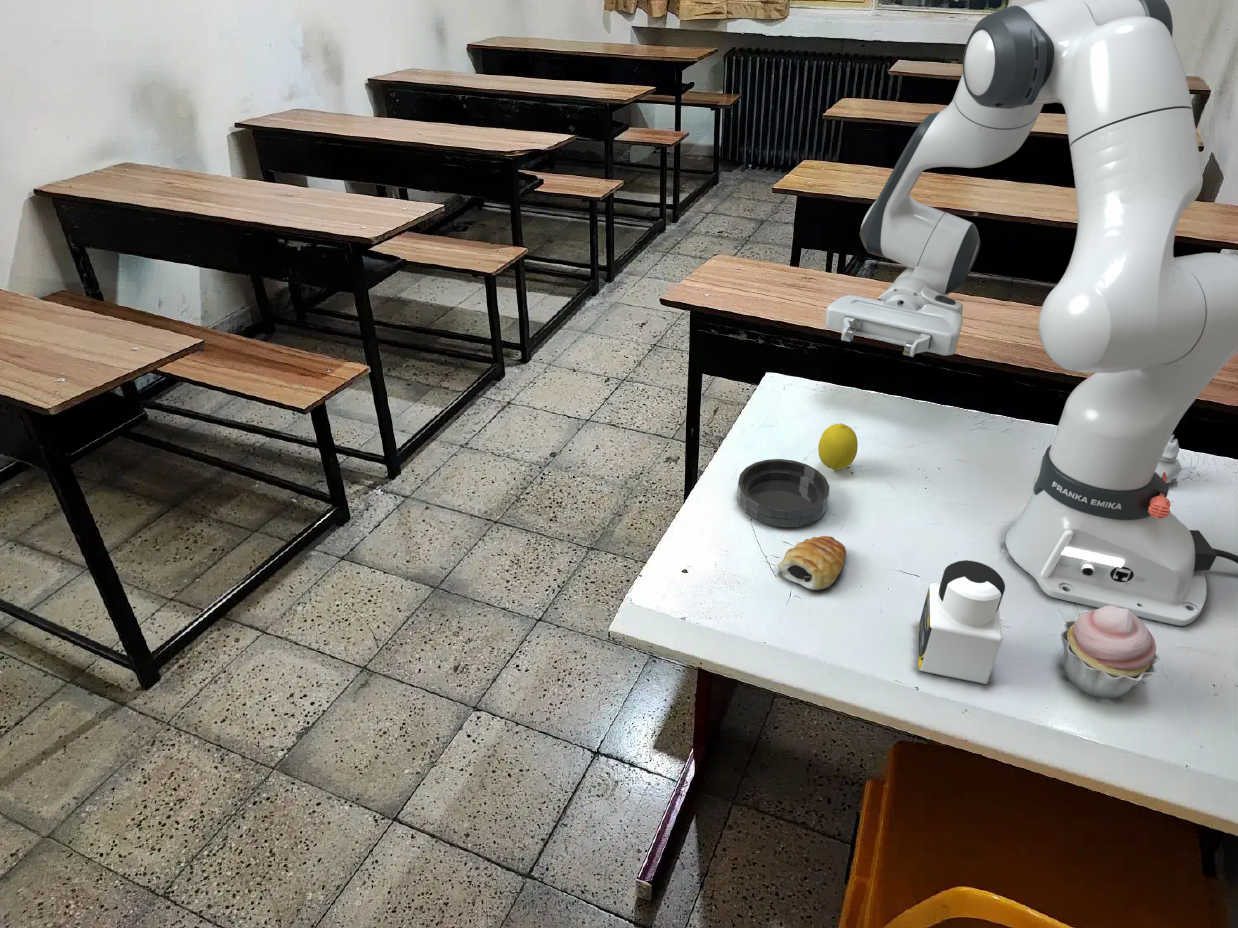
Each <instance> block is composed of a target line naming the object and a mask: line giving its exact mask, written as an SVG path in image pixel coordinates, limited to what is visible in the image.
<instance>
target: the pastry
mask: <svg viewBox="0 0 1238 928" xmlns="http://www.w3.org/2000/svg"><path fill="white" fill-rule="evenodd" d="M846 555H847V550H846V547H845V545H844V544H843V543H842V542H840V541H839V540H837V539H835V537H834V536H830V535H829V536H828V535H822V536H813V537H811V538H810V539H809V538H805V539H804V540H803V541H801V542H798V543H796V544H795V546H794V547H791V548H789V549H788V550H787V551H786V552H785V555H784V557H783V559H782V561H781V562H779V563H778V566H777V567H778V571H779V572H780V573H781V576H782V577H783V578H784V579H786V580H788V581H790V582H792V583H794V584H797V585H801V586H803V587H804V588H806V589H808V590H811V591H815V590H819V591H820V590H823V589H827V588H829V587H831V585H832V584H833V583H835V581H836V579H837V577H838V576H839V575H840V574H841V571H842V568H843V566H844V564H845V561H846Z"/></svg>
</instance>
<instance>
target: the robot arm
mask: <svg viewBox="0 0 1238 928" xmlns="http://www.w3.org/2000/svg"><path fill="white" fill-rule="evenodd" d="M1173 31H1174V24H1173V16H1172V12H1171V9H1170V7H1169V5H1168V3H1167V1H1166V0H1038V1H1035V2H1030V3H1028V4H1024V5H1021V6H1019V5H1010V6H1006V7H1003V8H1002V9H999V10H996V11H994V12H991V13H990V14H988V15H986V16H984V17H982V18H981V19H980V20H979V21H978V22H977V23H976V24H975V26H974V28H973V29H972V31H971V33H970V34H969V36H968V39H967V41H966V43H965V47H964V51H963V58H962V75H961V77H960V79H959V82H958V84H957V88H956V91H955V93H954V95H953V98H952V100H951V102H950V103H949V104H948V106H946V107H945V108H944V109H942V110H941V111H936V112H932V113H929V114H928V115H927V116H926V117H925V118H924V119H923V120H922V121H921V122H920V124H919V125H918V126H917V128H916V129H915V131H914V132H913V134H912V135H911V137H910V139H909V141H908V142H907V144H906V146H905V147H904V149H903V150H902V153H901V155H900V156H899V157H898V160H897V162H896V163H895V165H894V167H893V169H892V171H891V173H890V175H889V176H888V179H887V181H886V182H885V184H884V186H883V188H882V190H881V191H880V194H879V195H878V197H877V198H876V200H875V201H874V202H873V203H872V205H870V207H869V209H868V210H867V212H866V214H865V216H864V218H863V220H862V223H861V226H860V232H859V237H860V239H861V243H862V244H863V247H864V249H865V251H866V252H867V253H868V254H871V255H873V256H878V257H881V258H883V259H888V260H891V261H894V262H896V263H898V264H900V265H903V266H905V267H907V268H906V269H905V270H903V271H902V272H901V273H900V274H899V275H898V276H897V277H896V278H895V279H894V281H893V282H892V283H891V284H890V285H889V286H888V287H887V288H886V289H885V290H884V291H883V293H882V294H880V295H879V296H878V298H877V299H875V298H870V297H865V296H859V295H854V294H846V295H842V296H840V297H839V298H837V299H835V300H834V301H833V302H831V303H830V304H828V306H827V307H826V311H825V315H824V316H825V317H824V325H825V326H826V328H827V329H829V330H833V331H837V332H841V336H840V340H841V341H843V342H848V343H851V342H852V341H853V340H854V339H855V336H858V337H863V338H868V339H872V340H877V341H880V342H883V343H889V344H893V345H897V346H901V347H903V352H902V355H904V356H908V357H911V358H914V356H915V355H916V354H920V353H925V352H927V353H932V354H936V355H940V356H952V355H954V354H955V353H956V351H957V347H958V343H959V340H960V336H961V332H962V331H961V330H962V327H963V321H964V320H963V319H964V318H963V309H964V304H963V303H962V302H961V301H958V300H955V299H952V298H950V297H949V295H950V294H951V293H953V292H954V291H957V290H958V289H959V288H960V287H961V286H962V285H963V283H964V281H965V280H966V279H967V277H968V276H969V273H970V272H971V270H972V269H973V267H974V264H975V262H976V260H977V257H978V255H979V252H980V248H981V239H980V235H979V234H980V233H979V231H978V228H977V226H976V225H975V223H974V222H972V221H969V220H966V219H964V218H961V217H960V216H956V215H954V214H952V213H949V212H945V211H942V210H941V209H938V208H935V207H932V206H929V205H927V204H925V203H921V202H920V201H917V200H916V199H914V198H913V197H912V196H911V192H912V190H913V188H914V186H915V185H916V183H917V181H918V180H919V178H920V176H921V175H922V173H923V172H924V171H926V170H930V169H933V168H948V167H949V168H950V167H951V168H968V169H975V168H976V169H977V168H984V167H988V166H991V165H995V164H997V163H1000V162H1002V161H1005V160H1006V159H1008V158H1010V157H1011V156H1012V155H1014V154H1015V153H1016V152H1017V151H1018V150H1020V148H1021V147H1022V146H1023V144H1024V143H1025V141H1026V140H1027V138H1028V137H1029V135H1030V133H1031V131H1032V129H1033V128H1034V126H1035V124H1036V122H1037V120H1038V117H1039V116H1040V113H1041V111H1042V109H1043V106H1044V105H1046V104H1047V105H1048V104H1054V103H1057V104H1061V105H1062V106H1063V109H1064V111H1065V117H1066V118H1065V119H1066V126H1067V136H1068V144H1069V151H1070V156H1071V157H1070V158H1071V164H1072V170H1073V176H1074V177H1073V179H1074V187H1075V195H1076V202H1077V203H1076V204H1077V205H1076V206H1077V227H1076V236H1075V240H1074V245H1073V250H1072V252H1071V253H1072V254H1071V256H1070V259H1069V263H1068V265H1067V267H1066V270H1065V272H1064V274H1063V275H1062V277H1061V279H1060V280H1059V281H1058V283H1057V284H1056V285H1055V286H1054V287H1053V289H1052V290H1051V291H1050V292H1049V293H1048V295H1047V296H1046V298H1045V299H1044V302H1043V303H1042V306H1041V309H1040V312H1039V315H1038V316H1039V318H1038V335H1039V339H1040V342H1041V345H1042V348H1043V349H1044V352H1045V353H1046V354H1047V356H1048V357H1049V359H1050V360H1052V362H1053V363H1054V364H1055V365H1057V366H1058V367H1060V368H1062V369H1064V370H1066V371H1070V372H1079V373H1089V374H1090V373H1092V374H1091V375H1090V376H1089V377H1087V378H1085V379H1084V380H1083V381H1081V382H1080V383H1079V384H1078V385H1077V386H1076V387H1075V388H1074V389H1073V390H1072V391H1071V392H1070V394H1069V395H1068V397H1067V399H1066V401H1065V403H1064V407H1063V410H1062V413H1061V416H1060V418H1059V422H1058V425H1057V427H1056V430H1055V433H1054V436H1053V439H1052V442H1051V444H1049V445H1048V446H1047V448H1046V450H1045V452H1044V454H1043V455H1042V457H1041V459H1040V462H1039V465H1038V468H1037V471H1036V474H1035V477H1034V481H1033V492H1032V494H1031V496H1030V498H1029V500H1028V502H1027V503H1026V506H1025V507H1024V508H1023V511H1022V512H1021V514H1020V515H1019V517H1018V518H1017V520H1016V521H1015V522H1014V524H1012V526H1011V527H1010V528H1009V529H1008V531H1007V533H1006V535H1005V547H1006V549H1007V552H1008V553H1009V555H1010V557H1011V558H1012V559H1013V561H1014V562H1015V563H1016V564H1017V565H1018V566H1019V567H1021V569H1023V570H1024V571H1025V572H1027V573H1028V574H1029V575H1030V576H1031V577H1032V578H1034V579H1035V581H1036V582H1037V584H1038V586H1039V587H1040V589H1041V590H1042V591H1043V593H1044V594H1045V595H1047V596H1049V597H1051V598H1054V599H1058V600H1062V601H1066V602H1071V603H1075V604H1079V605H1085V606H1089V607H1093V608H1097V609H1099V608H1102V607H1104V606H1109V605H1113V606H1117V607H1119V608H1122V609H1129V611H1130V612H1131V613H1132V614H1134V615H1135V616H1137V617H1138V618H1143V619H1147V620H1151V621H1156V622H1160V623H1165V624H1169V625H1174V626H1180V627H1183V626H1187V625H1189V624H1192V623H1193V622H1194V621H1195V620H1197V618H1199V616H1200V615H1201V613H1202V610H1203V608H1204V606H1205V603H1206V598H1207V589H1208V588H1207V587H1208V586H1207V580H1206V575H1205V573H1204V571H1207V572H1209V571H1210V570H1211V568H1212V566H1213V565H1214V562H1215V560H1216V558H1217V557H1220V558H1222V559H1227V560H1228V561H1232V562H1233V563H1236V564H1237V565H1238V555H1237V554H1235V553H1232V552H1230V551H1227V550H1226V551H1225V550H1222V549H1217V548H1213V547H1212V546H1211V544H1210V543H1209V541H1208V540H1207V539H1206V537H1205V536H1204V535H1203V534H1202V532H1201V531H1200V530H1198V529H1189V528H1188V527H1187V526H1186V525H1185V523H1183V522H1182V521H1181V520H1180V519H1179V518H1178V517H1177V516H1176V515H1175V514H1174V513H1173V512H1172V511H1171V508H1170V507H1171V501H1170V499H1168V495H1169V491H1170V489H1169V488H1170V487H1169V486H1170V485H1168V483H1166V482H1167V477H1166V473H1165V472H1164V473H1163V476H1162V478H1161V477H1160V476H1159V475H1158V474H1157V473H1156V472H1155V470H1156V468H1157V466H1158V464H1159V461H1160V459H1161V457H1162V455H1163V453H1164V451H1165V448H1166V446H1167V444H1168V442H1169V440H1170V438H1171V436H1172V435H1174V434H1173V433H1174V431H1175V430H1176V428H1177V427H1178V425H1179V423H1180V421H1181V419H1182V418H1183V417H1184V416H1185V414H1186V412H1187V411H1188V410H1189V408H1190V407H1191V406H1192V404H1193V403H1195V401H1196V399H1197V398H1198V397H1199V396H1200V395H1201V393H1202V392H1203V391H1204V390H1205V389H1206V387H1207V386H1208V385H1209V384H1210V382H1211V381H1212V380H1213V379H1214V378H1215V377H1216V375H1218V373H1219V372H1220V371H1221V370H1222V369H1223V368H1224V366H1225V365H1226V364H1227V363H1228V362H1229V361H1230V360H1231V359H1233V357H1234V356H1235V355H1236V354H1237V353H1238V254H1231V253H1222V252H1221V253H1218V252H1202V253H1195V254H1188V255H1183V256H1176V257H1175V256H1174V245H1175V237H1176V231H1177V227H1178V224H1179V222H1180V219H1181V216H1182V215H1183V213H1184V211H1186V210H1187V209H1188V208H1189V207H1190V206H1191V205H1192V204H1193V203H1194V202H1195V201H1196V200H1197V198H1198V197H1199V195H1200V193H1201V191H1202V188H1203V183H1204V177H1203V170H1202V163H1201V157H1200V149H1199V143H1198V136H1197V129H1196V123H1195V117H1194V110H1193V103H1192V99H1191V98H1192V97H1191V94H1190V89H1189V85H1188V80H1187V76H1186V73H1185V69H1184V67H1183V63H1182V60H1181V57H1180V54H1179V52H1178V48H1177V46H1176V43H1175V41H1174V39H1173V35H1174V34H1173Z"/></svg>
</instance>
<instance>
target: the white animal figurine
mask: <svg viewBox="0 0 1238 928" xmlns="http://www.w3.org/2000/svg"><path fill="white" fill-rule="evenodd" d="M1179 445H1180V444H1179V440H1178V438H1175V434H1172V436H1171V438H1170V440H1169V442H1168V444H1167V446H1166V448H1165V451H1164V453H1163V455H1162V457H1161V459H1160V461H1159V464H1158V466H1157V468H1156V470H1155V472H1156V473H1157V474H1158V475H1159V476H1160V477H1161V478H1162V476H1163V473H1164V472H1165V473H1166V477H1167V482H1166V484H1169V483H1171V482H1172V481H1173V480H1174V479H1176V478H1177V477H1178V475H1179V474H1180V472H1181V469H1182V466H1181V463H1180V461H1179V460H1178V459H1177V458H1178V455H1179V452H1180V446H1179Z"/></svg>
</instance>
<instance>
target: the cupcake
mask: <svg viewBox="0 0 1238 928" xmlns="http://www.w3.org/2000/svg"><path fill="white" fill-rule="evenodd" d="M1064 629H1065V630H1063V631H1061V633H1060V638H1061V642H1062V647H1063V663H1062V665H1063V670H1064V674H1065V676H1066V678H1067V679H1068V680H1069V681H1070V683H1072V685H1073V686H1075V687H1076V688H1077V689H1079V690H1080V691H1081V692H1084V693H1086V694H1087V695H1090V696H1092V697H1096V698H1101V699H1107V700H1109V699H1117V698H1120V697H1122V696H1124V695H1125V694H1126V693H1127V692H1129V691H1130V690H1131V689H1132V688H1133V687H1134V686H1135V685H1136V684H1138V683H1139V682H1140V681H1141V680H1143V679H1146V678H1148V677H1151V676H1153V675H1156V674H1157V673H1158V672H1157V668H1156V667H1155V664H1156V663H1157V662H1158V661H1160V659H1161V657H1160V656H1159V654H1157V644H1156V640H1155V638H1154V636H1153V635H1152V633H1151V631H1149V629H1148V628H1147V626H1146V625H1145V623H1144V622H1143V621H1142V619H1140V617H1138V616H1135V615H1134V614H1132V613H1131V612H1130V611H1129V609H1122V608H1119V607H1117V606H1113V605H1109V606H1104V607H1102V608H1097V609H1092V610H1089V611H1085V612H1083V613H1082V614H1080V615H1079V616H1078V617H1077V618H1076V619H1074V620H1073V619H1072V620H1071V619H1070V620H1069V619H1068V620H1065V621H1064Z"/></svg>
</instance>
